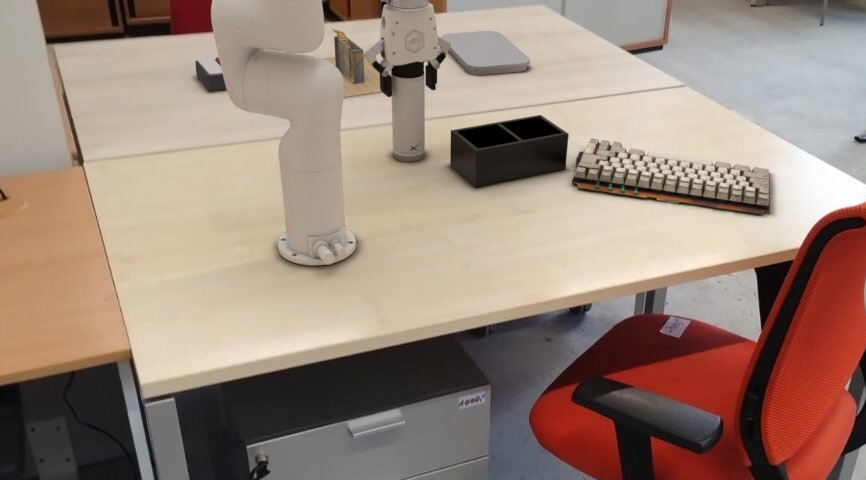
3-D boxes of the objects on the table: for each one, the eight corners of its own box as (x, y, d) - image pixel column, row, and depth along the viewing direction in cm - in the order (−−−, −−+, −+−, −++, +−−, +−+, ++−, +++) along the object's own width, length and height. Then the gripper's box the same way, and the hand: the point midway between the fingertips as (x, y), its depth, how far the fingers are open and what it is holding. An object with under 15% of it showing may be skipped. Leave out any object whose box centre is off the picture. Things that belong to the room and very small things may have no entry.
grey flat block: (496, 38, 250) (497, 30, 249) (533, 71, 230) (534, 62, 229) (438, 43, 245) (438, 34, 244) (470, 76, 225) (470, 67, 224)
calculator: (274, 67, 214) (207, 72, 207) (275, 85, 216) (209, 91, 209) (259, 52, 222) (194, 57, 215) (260, 70, 224) (196, 75, 217)
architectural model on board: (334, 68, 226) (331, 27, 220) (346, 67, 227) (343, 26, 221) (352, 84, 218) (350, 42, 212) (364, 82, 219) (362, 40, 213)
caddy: (565, 169, 184) (568, 133, 180) (475, 188, 176) (476, 150, 172) (538, 149, 192) (540, 114, 187) (450, 166, 183) (450, 130, 179)
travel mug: (421, 164, 184) (420, 62, 172) (389, 159, 185) (386, 58, 173) (430, 151, 189) (429, 52, 177) (398, 147, 190) (396, 48, 178)
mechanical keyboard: (769, 174, 187) (773, 158, 185) (770, 218, 172) (773, 201, 170) (581, 150, 193) (583, 134, 191) (565, 190, 178) (567, 173, 176)
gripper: (370, 8, 163) (374, 104, 173) (460, -2, 170) (458, 91, 180) (354, -4, 168) (358, 91, 178) (441, -13, 176) (441, 78, 186)
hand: (409, 91), depth 179 cm, fingers open, 8 cm apart
